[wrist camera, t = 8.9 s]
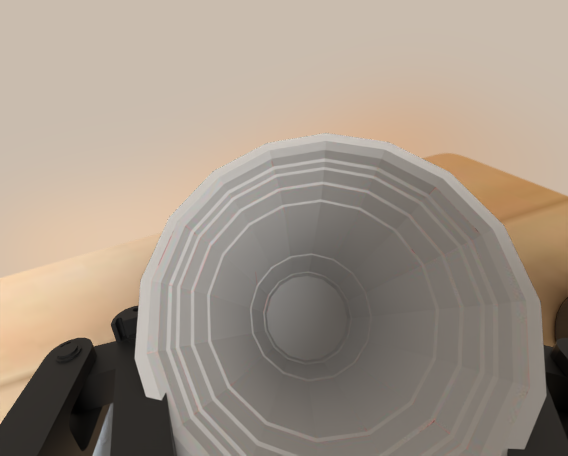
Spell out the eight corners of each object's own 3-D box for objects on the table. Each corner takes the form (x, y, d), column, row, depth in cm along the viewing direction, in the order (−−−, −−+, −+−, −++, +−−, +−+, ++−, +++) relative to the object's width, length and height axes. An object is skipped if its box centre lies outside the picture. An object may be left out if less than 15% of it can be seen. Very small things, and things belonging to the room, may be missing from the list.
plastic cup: (234, 235, 20) (169, 117, 9) (378, 244, 20) (494, 130, 9) (211, 402, 16) (45, 549, 5) (390, 417, 16) (626, 615, 5)
